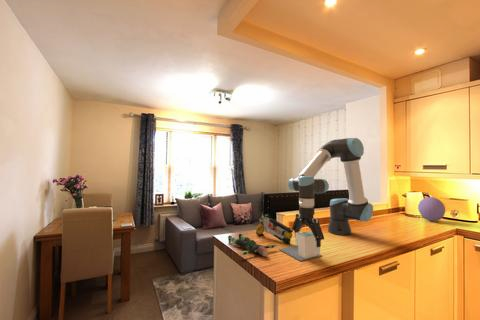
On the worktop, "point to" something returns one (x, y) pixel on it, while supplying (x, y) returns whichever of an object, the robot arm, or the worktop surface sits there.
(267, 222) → the toy gun
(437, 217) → the ball
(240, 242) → the figurine
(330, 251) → the worktop surface
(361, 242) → the worktop surface
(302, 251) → the cream rectangular block
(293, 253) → the mat
